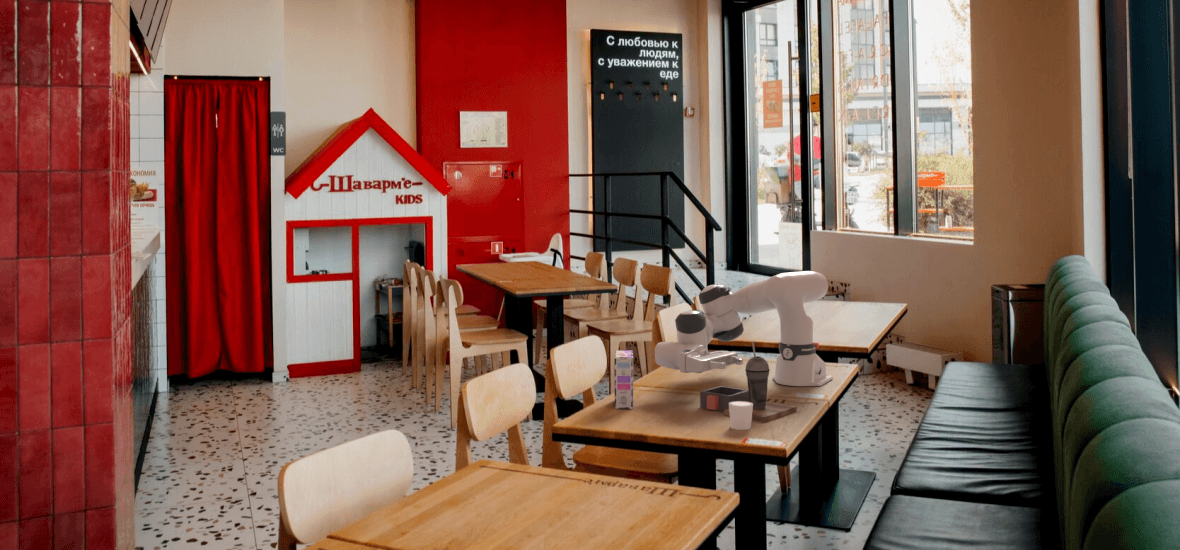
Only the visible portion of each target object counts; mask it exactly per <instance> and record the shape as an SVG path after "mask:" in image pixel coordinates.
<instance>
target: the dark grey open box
mask: <svg viewBox="0 0 1180 550" xmlns="http://www.w3.org/2000/svg"><path fill="white" fill-rule="evenodd" d="M733 401H746V402H750V400H749V390H748V389H743V388H737V387H731V386H724V385H719V386H715V387H711V388H707V389H703V390H700V391H699V407H700V408H704V409H708V410H712V411H719V412H724V410H726V409H729V402H733Z"/></svg>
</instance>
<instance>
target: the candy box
mask: <svg viewBox="0 0 1180 550" xmlns="http://www.w3.org/2000/svg"><path fill="white" fill-rule="evenodd" d="M633 352H634V351H633V350H615V355H614V359H613V360H614V365H613V366H614V370H613V371H614V377H613V378H614V409H615V410H633V409H634V353H633Z"/></svg>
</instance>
